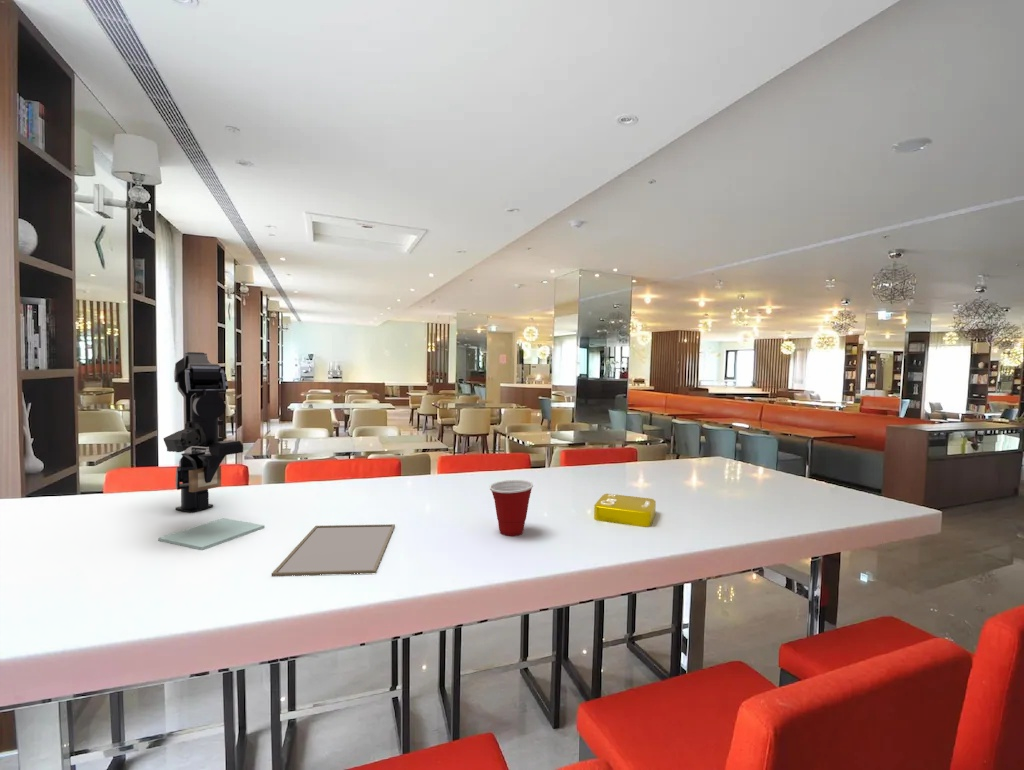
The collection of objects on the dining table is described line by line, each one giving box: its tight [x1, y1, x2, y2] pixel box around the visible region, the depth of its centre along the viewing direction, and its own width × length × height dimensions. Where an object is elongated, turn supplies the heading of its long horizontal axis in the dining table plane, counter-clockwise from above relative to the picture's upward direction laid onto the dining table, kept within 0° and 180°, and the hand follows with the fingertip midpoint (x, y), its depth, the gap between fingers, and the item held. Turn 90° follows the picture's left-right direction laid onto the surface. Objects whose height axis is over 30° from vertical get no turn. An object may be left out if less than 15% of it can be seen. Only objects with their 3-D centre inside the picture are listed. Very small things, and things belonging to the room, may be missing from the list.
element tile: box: [593, 493, 657, 528], centre depth 135 cm, size 15×15×5 cm
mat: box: [157, 517, 265, 551], centre depth 114 cm, size 14×16×1 cm
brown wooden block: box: [189, 465, 222, 492], centre depth 116 cm, size 2×7×5 cm, turn 159°
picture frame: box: [271, 524, 396, 577], centre depth 107 cm, size 19×1×28 cm
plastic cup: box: [489, 479, 534, 537], centre depth 119 cm, size 11×11×12 cm
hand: (205, 482), depth 116 cm, fingers closed on brown wooden block, 2 cm apart
